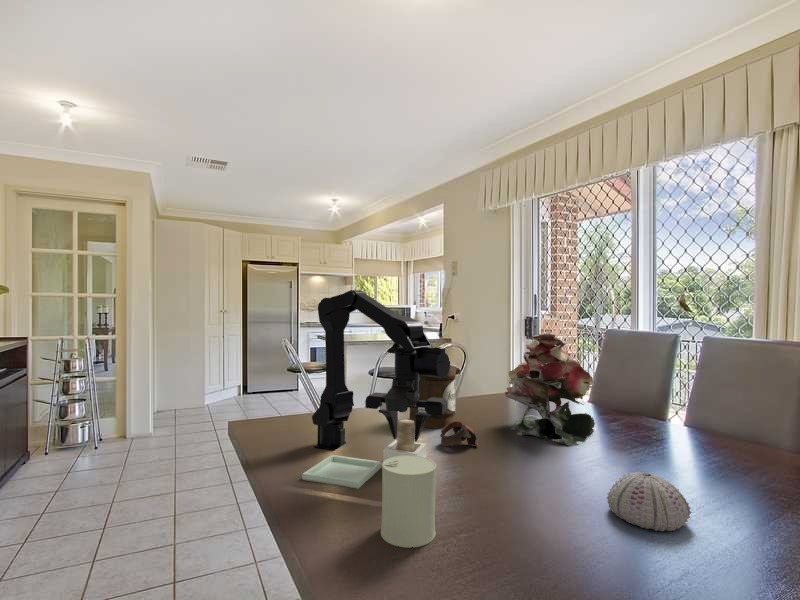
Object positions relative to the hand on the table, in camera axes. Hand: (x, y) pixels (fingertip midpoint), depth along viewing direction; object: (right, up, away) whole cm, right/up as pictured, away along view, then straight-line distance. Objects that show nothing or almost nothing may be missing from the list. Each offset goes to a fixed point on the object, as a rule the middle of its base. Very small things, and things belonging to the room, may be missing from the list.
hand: (405, 440), depth 105 cm
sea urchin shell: (+44, -7, -23) cm, 50 cm away
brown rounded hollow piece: (+15, -7, +16) cm, 23 cm away
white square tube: (0, -7, 0) cm, 6 cm away
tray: (-14, -6, -6) cm, 16 cm away
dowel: (0, -6, 0) cm, 6 cm away
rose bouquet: (+44, -8, +35) cm, 57 cm away
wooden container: (+9, -7, +41) cm, 43 cm away
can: (0, -7, -30) cm, 30 cm away
